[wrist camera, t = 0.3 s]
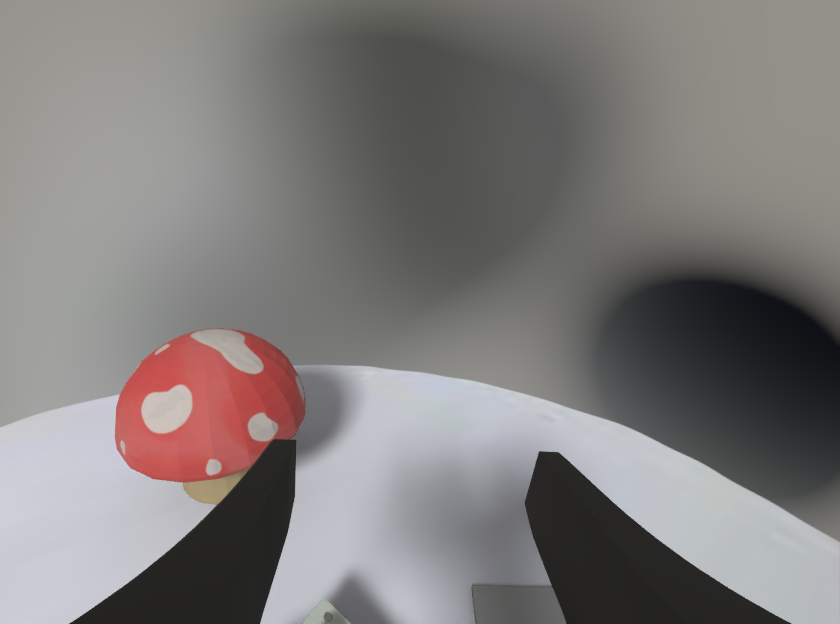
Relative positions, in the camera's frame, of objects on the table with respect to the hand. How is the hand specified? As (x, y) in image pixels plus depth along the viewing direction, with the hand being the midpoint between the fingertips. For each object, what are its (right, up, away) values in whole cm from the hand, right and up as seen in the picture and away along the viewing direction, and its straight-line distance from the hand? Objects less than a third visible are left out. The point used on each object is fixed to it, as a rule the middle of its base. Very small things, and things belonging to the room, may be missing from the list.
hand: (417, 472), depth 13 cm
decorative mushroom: (-16, -11, +25) cm, 32 cm away
